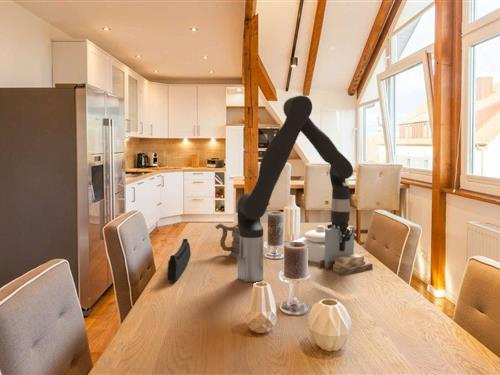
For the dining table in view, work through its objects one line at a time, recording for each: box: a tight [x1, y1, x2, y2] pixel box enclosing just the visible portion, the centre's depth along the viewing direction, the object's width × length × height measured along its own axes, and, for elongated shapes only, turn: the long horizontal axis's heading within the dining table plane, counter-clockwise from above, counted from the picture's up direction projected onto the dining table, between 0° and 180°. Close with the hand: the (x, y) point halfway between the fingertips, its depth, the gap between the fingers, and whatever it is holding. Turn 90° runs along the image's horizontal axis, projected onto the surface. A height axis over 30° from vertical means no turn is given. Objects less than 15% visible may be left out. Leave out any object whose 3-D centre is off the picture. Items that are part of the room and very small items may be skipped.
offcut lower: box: [333, 260, 366, 273], centre depth 173 cm, size 14×4×2 cm, turn 121°
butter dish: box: [291, 224, 327, 264], centre depth 191 cm, size 18×18×16 cm
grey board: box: [324, 225, 355, 268], centre depth 177 cm, size 14×2×16 cm, turn 121°
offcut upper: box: [335, 253, 365, 266], centre depth 173 cm, size 12×4×2 cm, turn 121°
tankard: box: [215, 223, 240, 259], centre depth 199 cm, size 20×13×15 cm, turn 84°
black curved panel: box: [166, 238, 191, 282], centre depth 173 cm, size 17×3×30 cm
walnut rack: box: [317, 259, 374, 277], centre depth 175 cm, size 18×14×4 cm
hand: (339, 249), depth 177 cm, fingers closed on grey board, 2 cm apart
